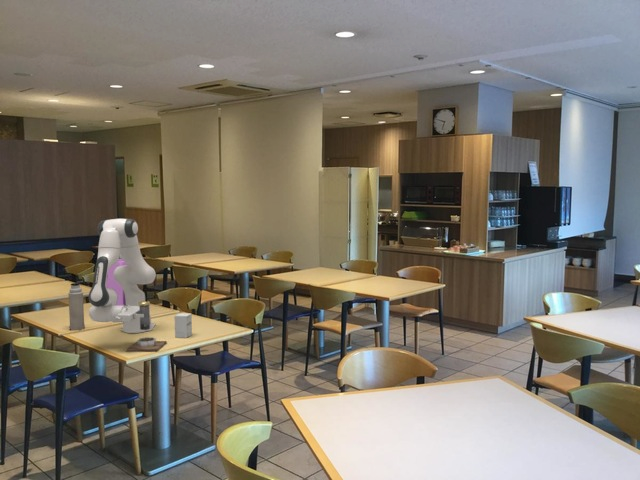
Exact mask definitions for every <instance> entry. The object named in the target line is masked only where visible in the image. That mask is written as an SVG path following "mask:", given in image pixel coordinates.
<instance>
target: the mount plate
mask: <svg viewBox="0 0 640 480" xmlns="http://www.w3.org/2000/svg"><path fill="white" fill-rule="evenodd" d="M167 342H168V341H166V340H156V345H155V346H152V347H139V346H138V344H137V341H136V342H134V343H133V344H131V345H130V346H129V347H128V348H126V351H125V352H126V353H127V352H129V353H130V352H133V353H134V352H139V353H142V352H143V353H145V352H146V353H147V352H148V353H149V352H150V353H152V352H153V353H157V352H159V350H160V349H162V348H163V347H164V346H165V345H167V344H168V343H167Z"/></svg>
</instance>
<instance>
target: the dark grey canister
mask: <svg viewBox="0 0 640 480" xmlns="http://www.w3.org/2000/svg"><path fill="white" fill-rule="evenodd" d="M150 304H151V302H150V301H148V300H147V301H146V300H145V301H142V302H139V308H140V314H145V316H144V317H140V329H141V330H147V329H150V316H151V314H150V306H151V305H150Z"/></svg>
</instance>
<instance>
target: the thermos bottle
mask: <svg viewBox="0 0 640 480" xmlns="http://www.w3.org/2000/svg"><path fill="white" fill-rule="evenodd" d="M67 295H68V310H69V311H68V313H69V314H68V315H69V316H68V317H69V330H70V329H71V330H79V331H82V329H83V330H85V313H84V292H83V291H82V288H81V283H79V282H74V283H73V282H72V283H70V288H69V292H68V294H67ZM71 330H70V331H71Z"/></svg>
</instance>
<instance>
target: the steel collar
mask: <svg viewBox="0 0 640 480" xmlns="http://www.w3.org/2000/svg"><path fill="white" fill-rule="evenodd" d="M156 341H157V338H156V337H153V336H152V337H149V336H148V337H147V336H146V337H142V338H138V339H137V340H136V342H137V344H138V346H139V347H152V346H155V345H156Z"/></svg>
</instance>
